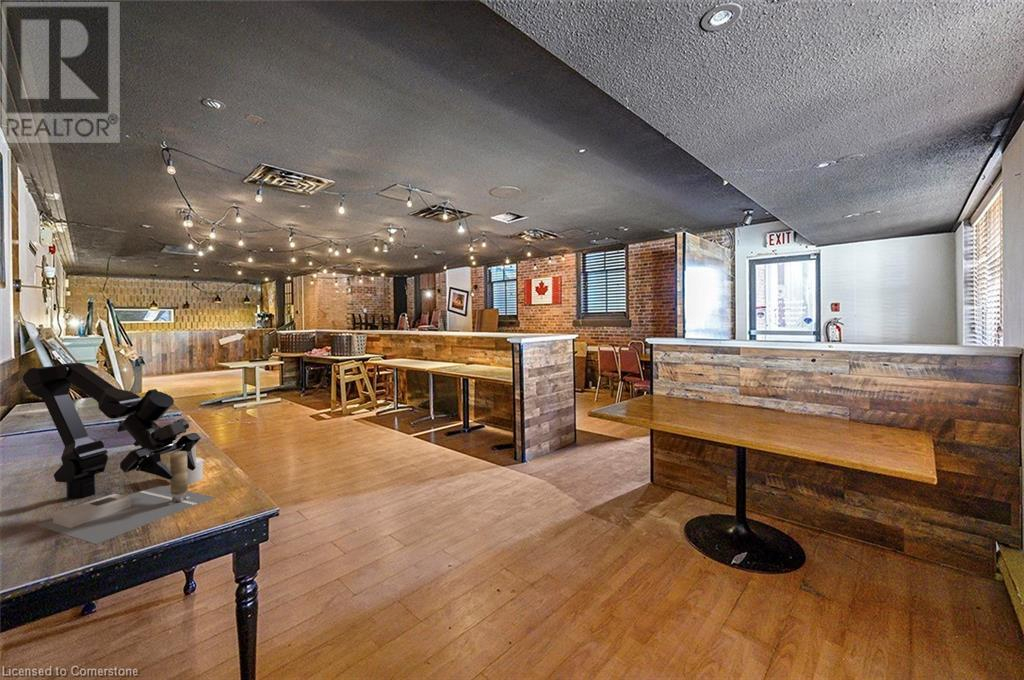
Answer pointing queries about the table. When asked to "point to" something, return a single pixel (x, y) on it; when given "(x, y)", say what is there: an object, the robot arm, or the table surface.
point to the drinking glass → (197, 472)
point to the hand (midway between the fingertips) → (183, 473)
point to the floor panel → (130, 515)
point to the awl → (178, 476)
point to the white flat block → (91, 510)
